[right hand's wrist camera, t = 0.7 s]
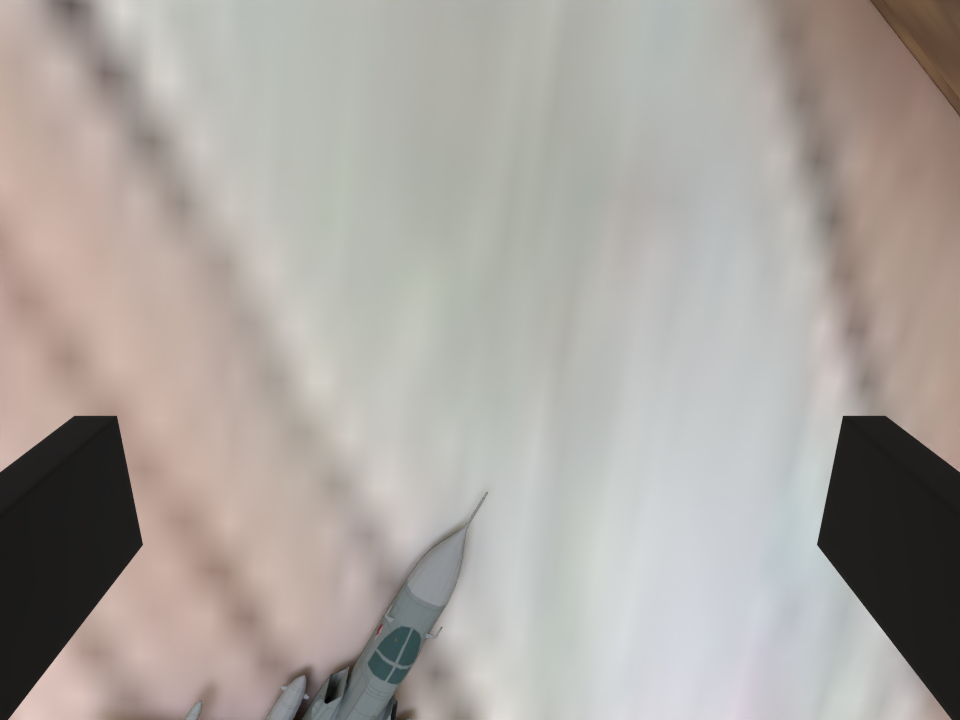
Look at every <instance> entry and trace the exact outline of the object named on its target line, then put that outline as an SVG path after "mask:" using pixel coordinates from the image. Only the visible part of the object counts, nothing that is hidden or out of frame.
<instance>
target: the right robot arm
mask: <svg viewBox="0 0 960 720" xmlns="http://www.w3.org/2000/svg"><path fill="white" fill-rule="evenodd" d="M142 545H143V543H142V538H141V533H140V528H139V523H138V518H137V513H136V508H135V503H134V498H133V493H132V488H131V484H130V479H129V474H128V469H127V464H126V459H125V454H124V449H123V444H122V439H121V434H120V429H119V424H118V419H117V416H74V417H72V418H71V419H70V420H68V421H67V422H66V423H65V424H63V425H62V426H61V427H59V428H58V429H57V430H55V431H54V432H53V433H51V434H50V435H49V436H47V437H46V438H45V439H44V440H42V441H41V442H40V443H38V444H37V445H36V446H34V447H33V448H32V449H30V450H29V451H28V452H26V453H25V454H24V455H22V456H21V457H20V458H19V459H17V460H16V461H15V462H13V463H12V464H11V465H9V466H8V467H7V468H5V469H4V470H3V471H1V472H0V720H8V719H9V718H10V716H11V715H12V714H13V713H14V711H15V710H16V709H17V707H18V706H19V705H20V704H21V702H22V701H23V700H24V698H25V697H26V696H27V694H28V693H29V692H30V691H31V689H32V688H33V687H34V685H35V684H36V683H37V681H38V680H39V679H40V678H41V676H42V675H43V674H44V672H45V671H46V670H47V668H48V667H49V666H50V665H51V663H52V662H53V661H54V659H55V658H56V657H57V656H58V654H59V653H60V652H61V650H62V649H63V648H64V646H65V645H66V644H67V643H68V641H69V640H70V639H71V637H72V636H73V635H74V633H75V632H76V631H77V630H78V628H79V627H80V626H81V624H82V623H83V622H84V621H85V619H86V618H87V617H88V615H89V614H90V613H91V611H92V610H93V609H94V608H95V606H96V605H97V604H98V602H99V601H100V600H101V598H102V597H103V596H104V595H105V593H106V592H107V591H108V589H109V588H110V587H111V585H112V584H113V583H114V582H115V580H116V579H117V578H118V576H119V575H120V574H121V573H122V571H123V570H124V569H125V567H126V566H127V565H128V563H129V562H130V561H131V560H132V558H133V557H134V556H135V554H136V553H137V552H138V550H139V549H140V548H141V547H142ZM817 545H818V547H819V548H820V549H821V550H822V552H823V553H824V554H825V556H826V557H827V558H828V560H829V561H830V562H831V563H832V565H833V566H834V567H835V569H836V570H837V571H838V573H839V574H840V575H841V576H842V578H843V579H844V580H845V582H846V583H847V584H848V585H849V587H850V588H851V589H852V591H853V592H854V593H855V595H856V596H857V597H858V598H859V600H860V601H861V602H862V604H863V605H864V606H865V608H866V609H867V610H868V611H869V613H870V614H871V615H872V617H873V618H874V619H875V621H876V622H877V623H878V624H879V626H880V627H881V628H882V630H883V631H884V632H885V633H886V635H887V636H888V637H889V639H890V640H891V641H892V643H893V644H894V645H895V646H896V648H897V649H898V650H899V652H900V653H901V654H902V656H903V657H904V658H905V659H906V661H907V662H908V663H909V665H910V666H911V667H912V668H913V670H914V671H915V672H916V674H917V675H918V676H919V678H920V679H921V680H922V681H923V683H924V684H925V685H926V687H927V688H928V689H929V691H930V692H931V693H932V694H933V696H934V697H935V698H936V700H937V701H938V702H939V704H940V705H941V706H942V707H943V709H944V710H945V711H946V713H947V714H948V715H949V716H950V718H951V719H952V720H960V472H959V471H957V470H956V469H955V468H953V467H952V466H951V465H949V464H948V463H947V462H945V461H944V460H943V459H941V458H940V457H939V456H938V455H936V454H935V453H934V452H932V451H931V450H930V449H928V448H927V447H926V446H924V445H923V444H922V443H920V442H919V441H918V440H916V439H915V438H914V437H913V436H911V435H910V434H909V433H907V432H906V431H905V430H903V429H902V428H901V427H899V426H898V425H897V424H895V423H894V422H893V421H892V420H890V419H889V418H888V417H886V416H843V419H842V424H841V429H840V434H839V439H838V444H837V449H836V454H835V459H834V464H833V469H832V474H831V479H830V484H829V488H828V493H827V498H826V503H825V508H824V513H823V518H822V523H821V528H820V533H819V538H818V543H817Z"/></svg>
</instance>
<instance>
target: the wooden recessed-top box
mask: <svg viewBox="0 0 960 720" xmlns="http://www.w3.org/2000/svg"><path fill="white" fill-rule="evenodd" d="M871 1H872V2H873V3H874V5H875V6H876V7H877V9H878V10H879V11H880V12H881V14H882V15H883V16H884V18H885V19H886V20H887V22H888V23H889V24H890V25H891V27H892V28H893V29H894V31H895V32H896V33H897V34H898V36H899V37H900V38H901V40H902V41H903V42H904V43H905V45H906V46H907V47H908V49H909V50H910V51H911V53H912V54H913V55H914V56H915V58H916V59H917V60H918V62H919V63H920V64H921V65H922V67H923V68H924V69H925V71H926V72H927V73H928V74H929V76H930V77H931V78H932V80H933V81H934V82H935V84H936V85H937V86H938V87H939V89H940V90H941V91H942V93H943V94H944V95H945V96H946V98H947V99H948V100H949V102H950V103H951V104H952V105H953V107H954V108H955V109H956V111H957V112H958V113H959V115H960V0H871Z"/></svg>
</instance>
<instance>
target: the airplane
mask: <svg viewBox="0 0 960 720" xmlns="http://www.w3.org/2000/svg"><path fill="white" fill-rule="evenodd" d="M487 494H488V492H486V494H485V495H484V497H483V498H482V500H481V501H480V503H479V504H478V506H477V508H476V509H475V511H474V512H473V514H472V515H471V517H470V519H469V521H468V522H467V523H466V525H465V526H464V528H463V529H461V530H460V531H458V532H457V533H455V534H454V535H452V536H451V537H449V538H447V539H446V540H444V541H442V542H441V543H439V544H438V545H437V546H435V547H434V548H433V549H431V550H430V551H429V552H428V553H427V554H426V555H425V556H424V557H423V558H422V559H421V560H420V561H419V562H418V564H417V565H416V567H415V568H414V570H413V571H412V572H411V574H410V575H409V576H408V578H407V580H406V582H405V583H404V585H403V587H402V588H401V590H400V591H399V593H398V595H397V596H396V598H395V599H394V601H393V602H392V604H391V605H390V607H389V608H388V610H387V611H386V613H385V614H384V616H383V617H382V619H381V621H380V622H379V624H378V626H377V628H376V629H375V631H374V633H373V635H372V636H371V638H370V640H369V642H368V643H367V645H366V647H365V649H364V650H363V652H362V654H361V655H360V657H359V659H358V661H357V662H356V664H355V666H354V668H353V670H352V672H351V673H350V675H349V677H348V679H347V676H348V671H349V667H350V666H348V668H346V669H344V670H342V671H340V672H338V673H336V674H333V675H331V676H330V677H329V678H328V680H327V681H326V682H325V684H324V685H323V686H322V688H321V689H320V690H319V692H318V693H317V695H316V696H315V698H314V700H313V701H312V703H311V705H310V706H309V708H308V710H307V711H306V713H305V715H304V716H303V718H302V720H395V718H396V710H397V701H396V700H395V697H394V693H395V691H396V690H397V688H398V687H399V685H400V684H401V682H402V681H403V679H404V678H405V677H406V675H407V674H408V672H409V671H410V669H411V667H412V666H413V664H414V663H415V661H416V659H417V657H418V655H419V653H420V651H421V648H422V646H423V644H424V642H425V640H426V639H427V638H436V637H437V636H438V634H439V632H440V631H441V629H442V627H441V628H440V630H439V631H438V633H437V634H436V636H433V635H431V634H429V633H430V631H431V629H432V628H433V626H434V624H435V623H436V621H437V620H438V618H439V616H440V615H441V613H442V611H443V610H444V608H445V606H446V605H447V603H448V601H449V599H450V597H451V595H452V593H453V590H454V588H455V585H456V582H457V579H458V576H459V573H460V568H461V562H462V556H463V548H464V540H465V535H466V530H467V528H468V526H469V524H470V522H471V521H472V519H473V517H474V516H475V514H476V512H477V511H478V509H479V508H480V506H481V504H482V503H483V501H484V499H485V497H486V496H487ZM346 680H347V681H346ZM306 685H307V684H306V676H305V675H302V676H300V677H298V678H296V679H295V680H294V681H292V682H291V683H290V684H289V686H282V687H281V689H282V690H284V692H283V693H282V695H281V696H280V698H279V699H278V701H277V702H276V704H275V705H274V707H273V708H272V710H271V711H270V713H269V715H268V716H267V718H266V720H293V719H294V717H295V715H296V713H297V711H298V709H299V707H300V705H301V703H302V700H303V698H304V699H307V700H308V698H309V696H308V695H307V694H305V692H306ZM201 709H202V701H199V702H197V703H196V704H195V705H194V706H193V707H192V709H191V710H190V712H189V713H188V715H187V717H186V718H185V720H198V717H199V715H200V713H201ZM405 720H412V719H411V718H407V719H405Z"/></svg>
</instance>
